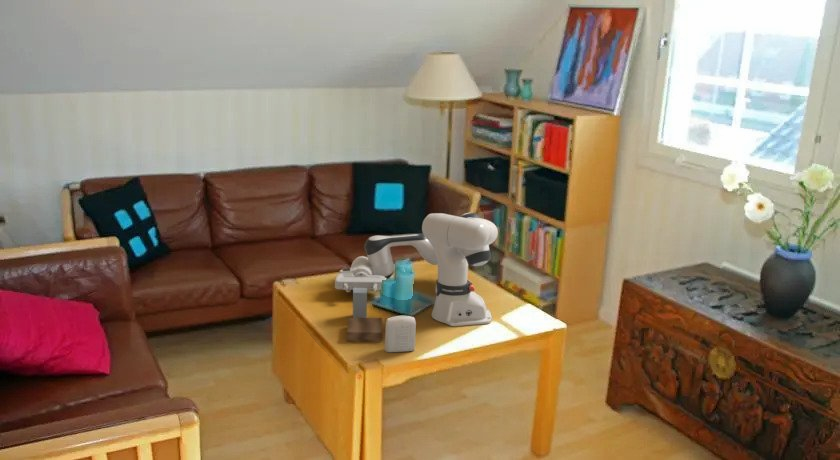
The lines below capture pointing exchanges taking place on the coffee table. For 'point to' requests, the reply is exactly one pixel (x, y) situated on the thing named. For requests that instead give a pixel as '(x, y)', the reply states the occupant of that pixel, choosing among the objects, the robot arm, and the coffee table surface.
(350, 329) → the walnut block
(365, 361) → the coffee table surface
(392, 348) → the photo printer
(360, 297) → the grey pillar
